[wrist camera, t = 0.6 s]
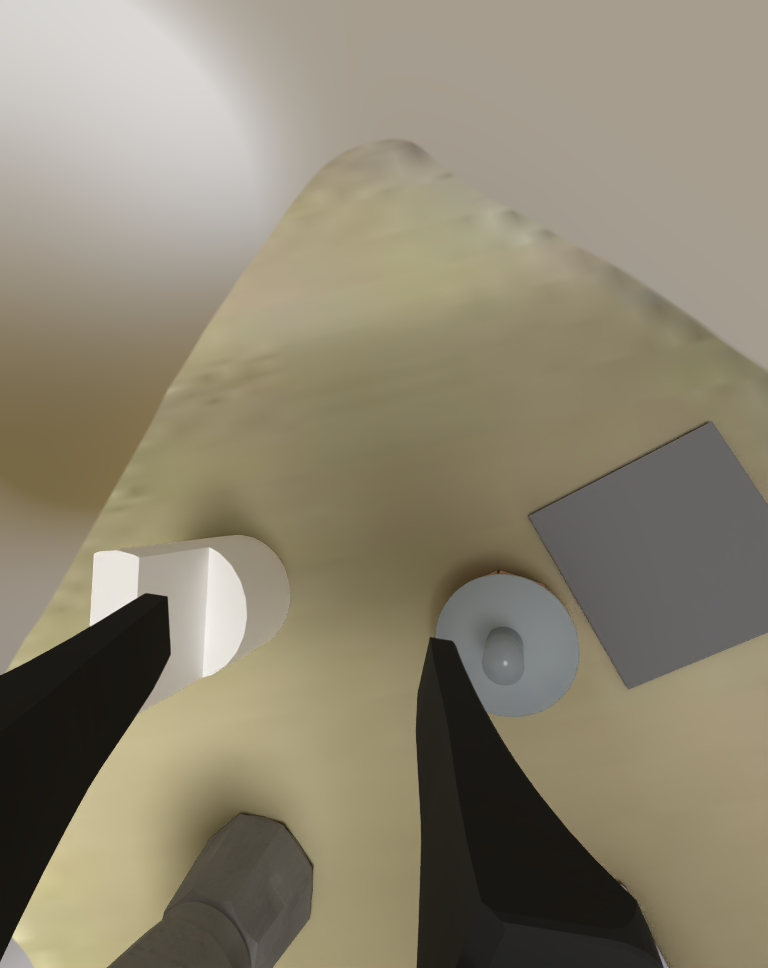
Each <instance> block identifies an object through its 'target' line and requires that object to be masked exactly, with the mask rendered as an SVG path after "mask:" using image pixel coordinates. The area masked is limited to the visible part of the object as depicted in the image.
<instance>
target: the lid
mask: <svg viewBox="0 0 768 968" xmlns="http://www.w3.org/2000/svg"><path fill="white" fill-rule="evenodd" d="M435 638H439V639H445V640H451V641H453V642H454V643H455V645H456V647H457V650H458V653H459V655H460V658H461V660H462V663H463V665H464V667H465V670H466V672H467V674H468V676H469V678H470V681H471V683H472V685H473V687H474V689H475V691H476V693H477V695H478V697H479V699H480V701H481V703H482V705H483V707H484V709H485V711H486V712H489V713H492V714H496V715H500V716H509V717H519V716H527V715H532V714H535V713H538V712H541V711H543V710H545V709H547V708H549V707H550V706H551V705H553V704H554V703H556V702H557V701H558V700H559V699H560V698H561V697H562V696H563V695H564V694H565V693H566V691H567V690H568V689H569V687H570V685H571V684H572V682H573V680H574V677H575V675H576V672H577V668H578V664H579V654H580V651H579V641H578V635H577V632H576V629H575V626H574V623H573V621H572V619H571V617H570V615H569V613H568V611H567V610H566V608H565V607H564V605H563V604H562V603H561V602H560V601H559V599H558V598H557V597H556V596H555V595H554V594H553V593H551V592H550V591H549V590H548V589H546V588H545V587H544V586H542V585H540V584H539V583H537V582H535V581H533V580H530V579H528V578H525V577H522V576H518V575H514V574H489V575H485V576H481V577H478V578H476V579H473V580H471V581H469V582H467V583H466V584H464V585H463V586H461V587H460V588H459V589H458V590H457V591H456V592H455V593H454V594H453V595H452V596H451V597H450V598H449V600H448V601H447V603H446V604H445V606H444V607H443V609H442V611H441V613H440V616H439V619H438V622H437V627H436V634H435Z"/></svg>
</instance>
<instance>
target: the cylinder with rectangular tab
mask: <svg viewBox="0 0 768 968" xmlns="http://www.w3.org/2000/svg"><path fill="white" fill-rule="evenodd" d="M145 593H150V594H156V595H162V596H168V609H169V627H170V644H171V655H170V657H169V660H168V662H167V664H166V666H165V668H164V670H163V672H162V674H161V676H160V678H159V680H158V682H157V683H156V685H155V687H154V689H153V691H152V692H151V694H150V695H149V697H148V699H147V700H146V702H145V703H144V705H143V706H142V708H141V709H140V711H139V712H138V714H139V713H141V712H142V711H144V710H146V709H148V708H150V707H151V706H153V705H155V704H157V703H158V702H160V701H162V700H164V699H166V698H167V697H169V696H171V695H173V694H174V693H176V692H178V691H180V690H181V689H183V688H185V687H187V686H189V685H190V684H192V683H194V682H196V681H197V680H199V679H201V678H203V677H206V676H209V675H212V674H214V673H216V672H218V671H220V670H221V669H223V668H225V667H227V666H228V665H230V664H232V663H234V662H235V661H237V660H239V659H241V658H242V657H244V656H246V655H248V654H249V653H251V652H253V651H255V650H256V649H258V648H260V647H261V646H263V645H264V644H266V643H267V642H269V641H270V640H272V639H273V638H274V636H275V635H276V634H277V633H278V632H279V630H280V629H281V628H282V626H283V624H284V621H285V619H286V617H287V614H288V610H289V604H290V586H289V580H288V577H287V574H286V571H285V568H284V566H283V564H282V563H281V561H280V559H279V558H278V556H277V555H276V554H275V553H274V552H273V551H272V550H271V549H270V548H269V547H268V546H267V545H266V544H264V543H263V542H261V541H259V540H257V539H255V538H253V537H249V536H244V535H230V536H221V537H213V538H205V539H197V540H189V541H181V542H172V543H164V544H156V545H148V546H140V547H132V548H124V549H116V550H108V551H99V552H97V553H94V563H93V581H92V598H91V616H90V626H92V625H94V624H95V623H97V622H99V621H100V620H102V619H104V618H105V617H107V616H108V615H110V614H112V613H113V612H115V611H117V610H118V609H120V608H121V607H123V606H125V605H126V604H128V603H130V602H131V601H133V600H134V599H136V598H138V597H140V596H141V595H143V594H145Z"/></svg>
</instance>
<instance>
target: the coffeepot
mask: <svg viewBox="0 0 768 968" xmlns="http://www.w3.org/2000/svg"><path fill="white" fill-rule="evenodd" d="M312 891H313V885H312V867H311V865H310V863H309V861H308V859H307V857H306V855H305V853H304V851H303V849H302V847H301V846H300V844H299V843H298V841H297V840H296V839H295V838H294V836H293V835H292V834H291V833H290V832H289V831H288V830H287V829H285V827H284V826H283V825H282V824H280V823H278V822H276V821H274V820H271V819H268V818H266V817H263V816H256V815H249V816H247V815H244V814H239V815H238V816H237V817H236V818H234V819H233V820H232V821H230V822H229V823H228V824H227V825H226V826H225V827H223V828H222V829H221V830H220V831H219V832H217V833H216V834H215V835H214V836H213V837H211V838H210V839H209V841H208V842H207V844H206V845H205V847H204V849H203V850H202V852H201V853H200V855H199V857H198V858H197V860H196V861H195V863H194V865H193V866H192V868H191V869H190V871H189V873H188V874H187V876H186V877H185V879H184V881H183V882H182V884H181V885H180V887H179V889H178V890H177V892H176V893H175V895H174V897H173V898H172V900H171V901H170V903H169V905H168V906H167V908H166V909H165V911H164V915H163V919H162V921H160V922H159V923H158V924H156V925H155V926H154V927H152V928H151V929H150V930H149V931H148V932H146V933H145V934H144V935H143V936H142V937H141V938H139V939H138V940H137V941H136V942H135V943H134V944H133V945H131V946H130V947H129V948H128V949H127V950H126V951H125V952H124V953H123V954H122V955H120V956H119V957H118V958H117V959H116V960H115V961H114V962H113V963H112V964H111V965H109V966H108V967H107V968H273V966H274V965H275V964H276V962H277V961H278V960H279V958H280V957H281V956H282V954H283V953H284V952H285V950H286V949H287V948H288V946H289V945H290V944H291V943H292V941H293V940H294V939H295V937H296V936H297V935H298V933H299V932H300V931H301V929H302V928H303V927H304V925H305V924H306V923H307V921H308V920H309V919H310V907H311V898H312Z"/></svg>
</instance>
